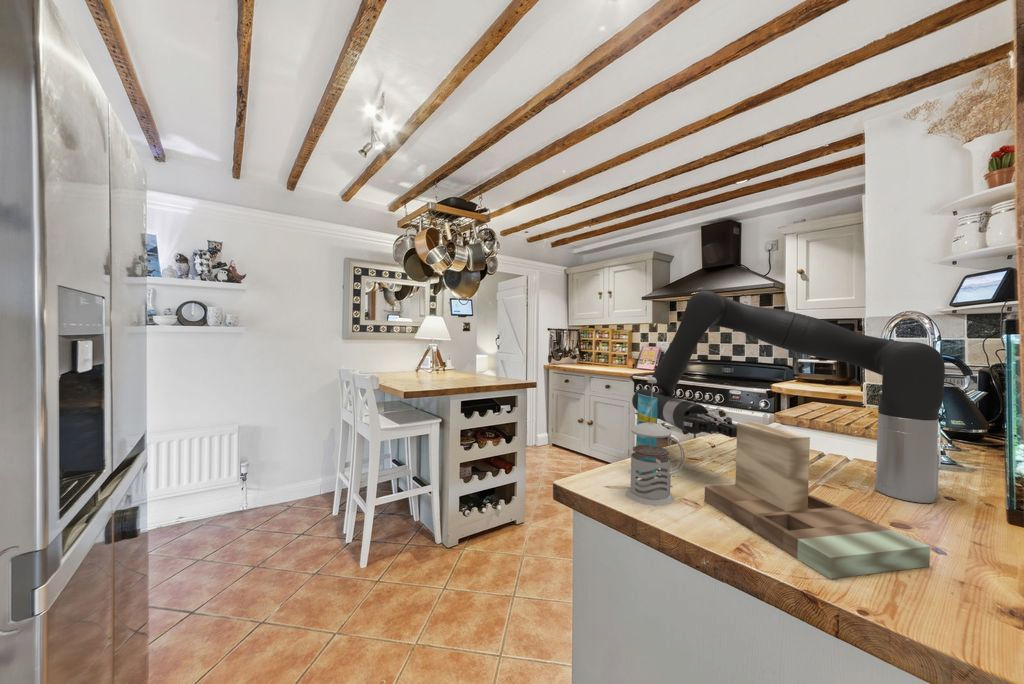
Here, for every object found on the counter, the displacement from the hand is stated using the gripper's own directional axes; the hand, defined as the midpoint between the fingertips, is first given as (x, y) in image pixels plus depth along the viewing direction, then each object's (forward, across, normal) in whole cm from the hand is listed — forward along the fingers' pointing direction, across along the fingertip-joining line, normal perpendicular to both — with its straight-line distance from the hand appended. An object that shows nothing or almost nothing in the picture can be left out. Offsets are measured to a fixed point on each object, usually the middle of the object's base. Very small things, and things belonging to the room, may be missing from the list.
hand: (735, 432), depth 84 cm
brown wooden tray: (+15, 0, +13) cm, 20 cm away
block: (+9, 0, +10) cm, 13 cm away
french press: (-2, -18, +14) cm, 22 cm away
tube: (-14, -13, +14) cm, 23 cm away
